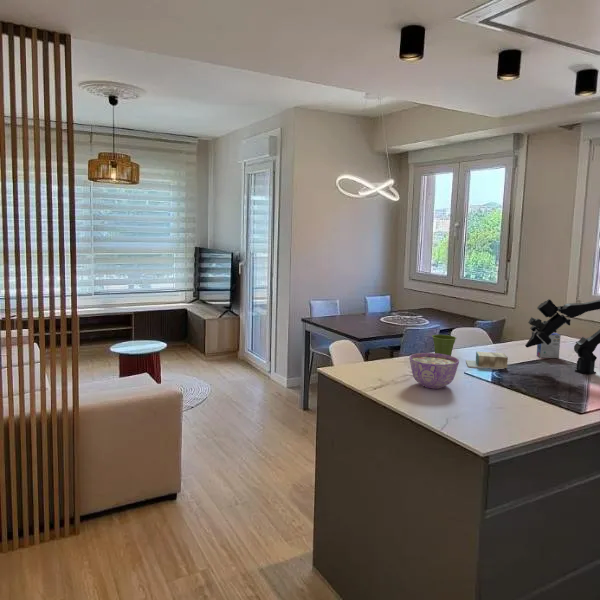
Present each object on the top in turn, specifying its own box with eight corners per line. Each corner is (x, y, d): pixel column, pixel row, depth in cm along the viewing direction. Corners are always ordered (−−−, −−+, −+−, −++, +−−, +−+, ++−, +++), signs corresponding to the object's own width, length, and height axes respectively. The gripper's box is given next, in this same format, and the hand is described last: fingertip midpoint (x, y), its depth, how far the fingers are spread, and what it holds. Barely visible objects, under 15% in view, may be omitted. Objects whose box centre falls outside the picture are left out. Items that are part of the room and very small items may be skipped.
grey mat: (500, 363, 254) (500, 362, 254) (504, 369, 242) (504, 368, 242) (465, 361, 257) (465, 360, 257) (468, 367, 246) (468, 366, 246)
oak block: (504, 353, 252) (476, 351, 254) (507, 357, 243) (478, 355, 245) (503, 363, 252) (475, 361, 255) (507, 367, 243) (477, 366, 246)
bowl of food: (422, 394, 203) (424, 365, 202) (399, 380, 222) (400, 353, 221) (467, 391, 209) (469, 363, 207) (441, 377, 228) (442, 351, 226)
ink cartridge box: (554, 355, 272) (556, 328, 270) (559, 358, 267) (561, 330, 265) (535, 355, 273) (537, 328, 271) (540, 357, 267) (542, 330, 265)
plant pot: (456, 362, 255) (457, 339, 253) (431, 360, 257) (432, 338, 256) (454, 356, 266) (455, 335, 265) (430, 355, 269) (431, 333, 267)
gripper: (536, 309, 250) (510, 330, 254) (545, 315, 232) (517, 338, 236) (552, 325, 250) (526, 347, 253) (563, 333, 232) (535, 356, 235)
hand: (525, 346), depth 245 cm, fingers closed
